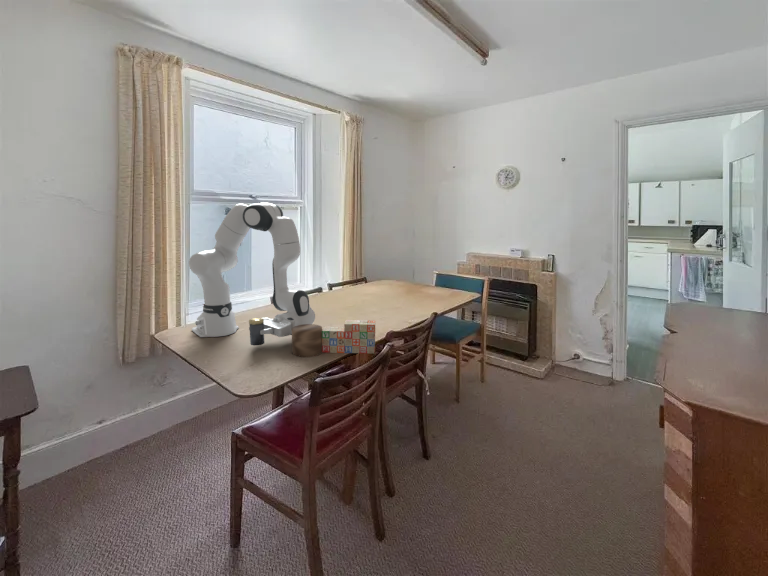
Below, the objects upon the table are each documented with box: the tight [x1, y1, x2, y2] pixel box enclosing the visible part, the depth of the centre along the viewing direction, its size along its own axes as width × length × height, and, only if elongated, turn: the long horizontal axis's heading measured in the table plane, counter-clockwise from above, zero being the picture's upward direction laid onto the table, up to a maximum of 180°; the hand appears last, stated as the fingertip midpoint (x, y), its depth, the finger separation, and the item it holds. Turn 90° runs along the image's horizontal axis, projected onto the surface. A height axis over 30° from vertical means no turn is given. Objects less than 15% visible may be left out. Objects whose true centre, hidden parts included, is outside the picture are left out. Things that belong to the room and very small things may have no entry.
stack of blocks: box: [322, 319, 376, 354], centre depth 156 cm, size 21×6×12 cm, turn 89°
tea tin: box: [248, 317, 265, 347], centre depth 156 cm, size 6×6×10 cm
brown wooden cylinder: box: [291, 323, 323, 358], centre depth 154 cm, size 12×12×10 cm
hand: (254, 330), depth 156 cm, fingers closed on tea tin, 5 cm apart
